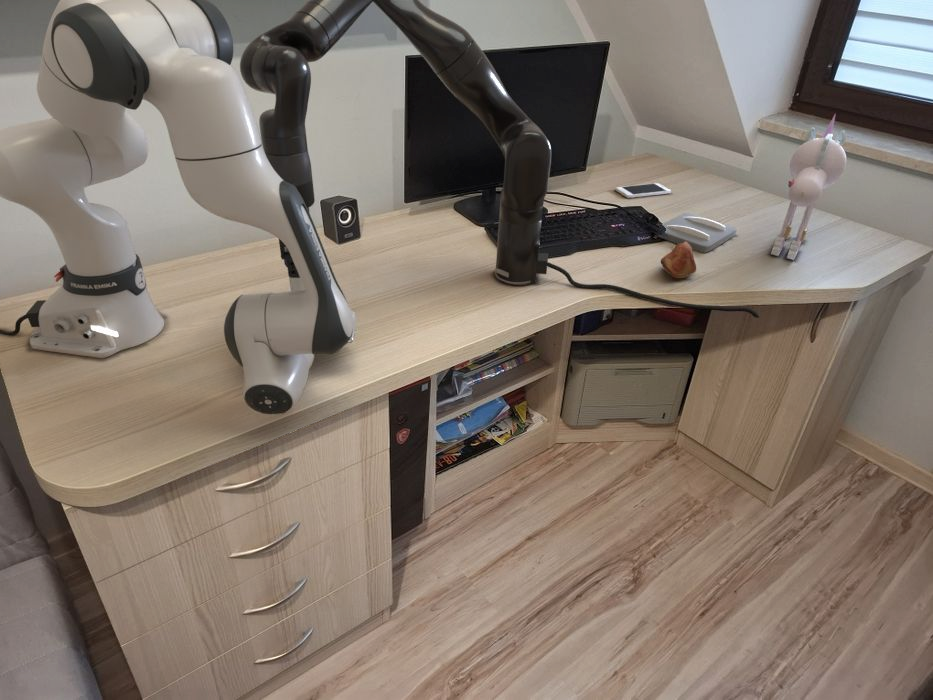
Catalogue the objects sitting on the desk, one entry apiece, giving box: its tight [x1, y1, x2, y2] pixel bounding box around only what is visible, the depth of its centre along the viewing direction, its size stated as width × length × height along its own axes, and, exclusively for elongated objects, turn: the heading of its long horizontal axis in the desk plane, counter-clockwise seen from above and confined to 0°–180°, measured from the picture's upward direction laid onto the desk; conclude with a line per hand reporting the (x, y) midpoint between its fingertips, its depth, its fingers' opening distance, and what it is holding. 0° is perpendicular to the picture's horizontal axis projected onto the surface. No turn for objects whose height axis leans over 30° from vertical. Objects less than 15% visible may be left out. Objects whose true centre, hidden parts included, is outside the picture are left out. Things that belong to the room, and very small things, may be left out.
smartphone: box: [615, 182, 672, 199], centre depth 194 cm, size 7×16×1 cm, turn 111°
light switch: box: [654, 212, 737, 253], centre depth 167 cm, size 18×3×15 cm
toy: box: [770, 112, 847, 261], centre depth 159 cm, size 12×36×30 cm, turn 148°
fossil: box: [660, 241, 697, 279], centre depth 147 cm, size 13×8×10 cm
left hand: (306, 303), depth 119 cm, fingers closed on jar, 4 cm apart
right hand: (300, 266), depth 114 cm, fingers open, 7 cm apart
